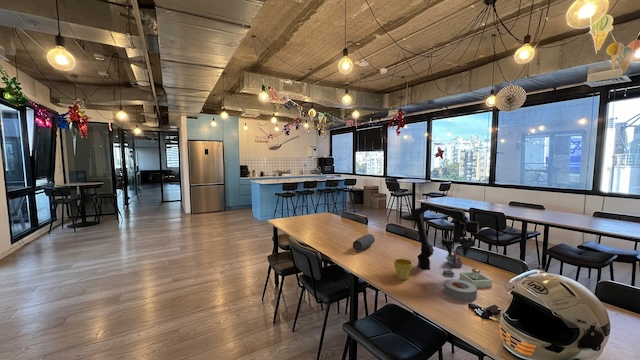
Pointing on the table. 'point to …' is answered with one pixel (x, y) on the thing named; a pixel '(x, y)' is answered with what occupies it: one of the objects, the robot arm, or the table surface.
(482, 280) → the bin
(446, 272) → the disc with square block
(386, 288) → the table surface
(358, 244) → the bluetooth speaker
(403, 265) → the plant pot
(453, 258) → the carburetor
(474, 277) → the brass cabinet knob
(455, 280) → the tape roll
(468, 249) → the robot arm
